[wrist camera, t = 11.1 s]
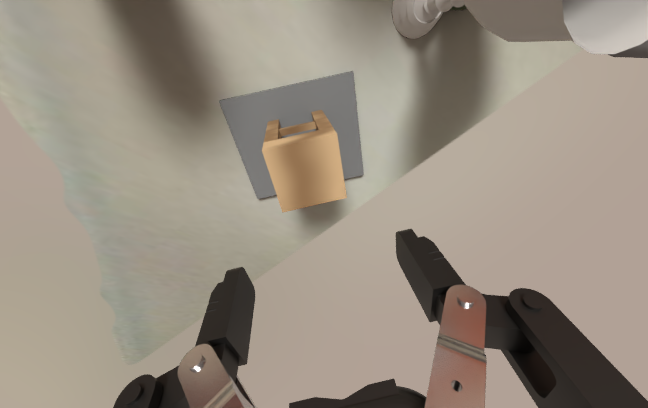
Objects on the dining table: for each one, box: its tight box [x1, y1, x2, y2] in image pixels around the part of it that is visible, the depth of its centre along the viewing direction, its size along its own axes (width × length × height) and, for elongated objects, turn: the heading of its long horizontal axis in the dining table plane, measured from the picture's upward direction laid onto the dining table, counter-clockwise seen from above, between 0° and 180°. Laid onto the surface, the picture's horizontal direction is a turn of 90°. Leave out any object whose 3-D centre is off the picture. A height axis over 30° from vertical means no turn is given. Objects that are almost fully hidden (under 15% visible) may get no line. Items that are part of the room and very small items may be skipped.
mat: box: [219, 71, 364, 199], centre depth 28 cm, size 14×12×1 cm
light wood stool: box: [262, 110, 347, 212], centre depth 24 cm, size 6×6×9 cm
